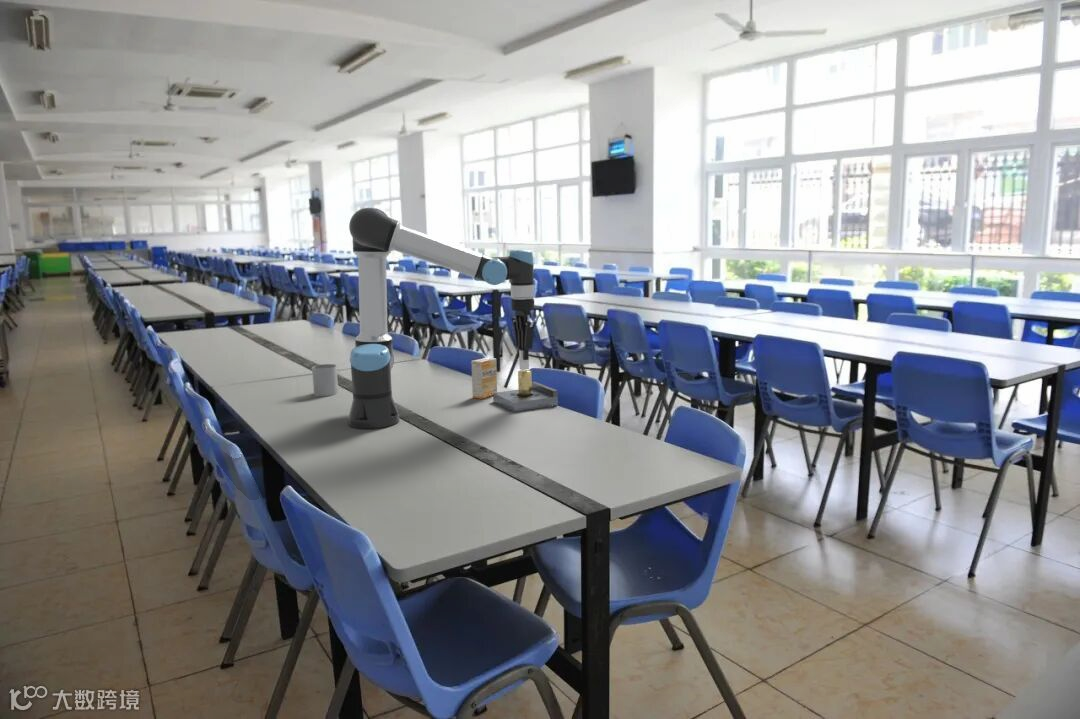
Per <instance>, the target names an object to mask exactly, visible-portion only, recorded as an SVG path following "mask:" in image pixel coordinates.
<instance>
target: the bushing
mask: <svg viewBox="0 0 1080 719" xmlns="http://www.w3.org/2000/svg"><path fill="white" fill-rule="evenodd" d="M517 381H518V382H517V383H518V389H517V390H519V396H520V397H528V396H532V382H533V381H532V370H530V369H526V370H520V369H519V370H518V371H517Z"/></svg>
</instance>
